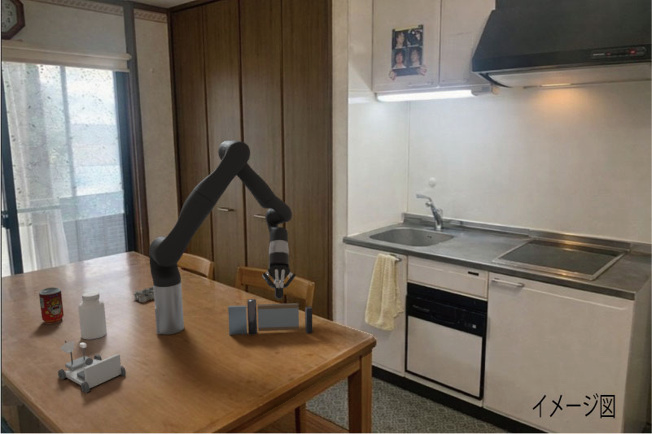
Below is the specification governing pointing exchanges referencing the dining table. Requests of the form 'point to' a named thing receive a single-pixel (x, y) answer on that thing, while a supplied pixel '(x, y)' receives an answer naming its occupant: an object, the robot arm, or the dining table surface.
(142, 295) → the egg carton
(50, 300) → the soda can
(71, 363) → the toy space rover
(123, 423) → the dining table surface
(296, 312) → the gate
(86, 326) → the pill bottle
